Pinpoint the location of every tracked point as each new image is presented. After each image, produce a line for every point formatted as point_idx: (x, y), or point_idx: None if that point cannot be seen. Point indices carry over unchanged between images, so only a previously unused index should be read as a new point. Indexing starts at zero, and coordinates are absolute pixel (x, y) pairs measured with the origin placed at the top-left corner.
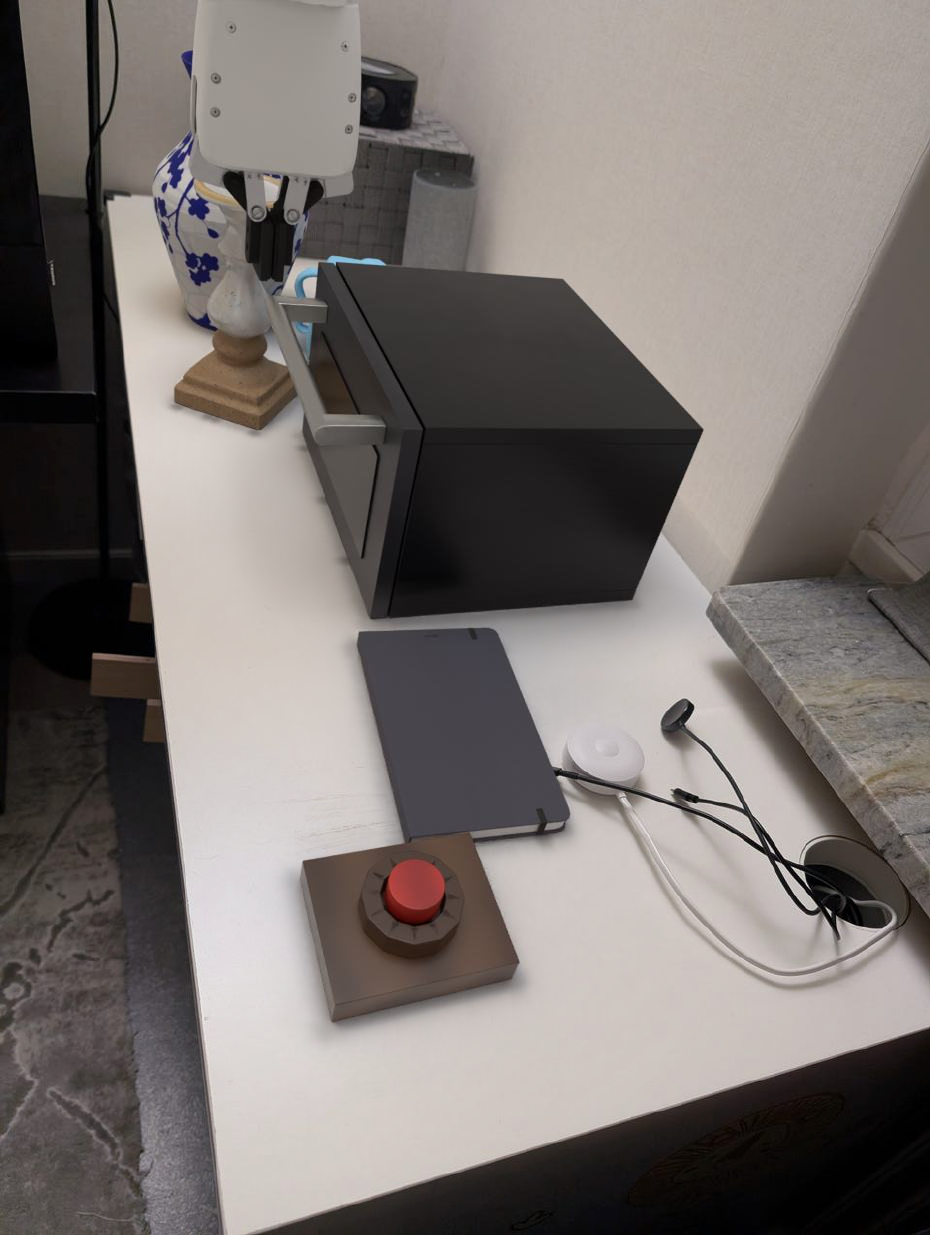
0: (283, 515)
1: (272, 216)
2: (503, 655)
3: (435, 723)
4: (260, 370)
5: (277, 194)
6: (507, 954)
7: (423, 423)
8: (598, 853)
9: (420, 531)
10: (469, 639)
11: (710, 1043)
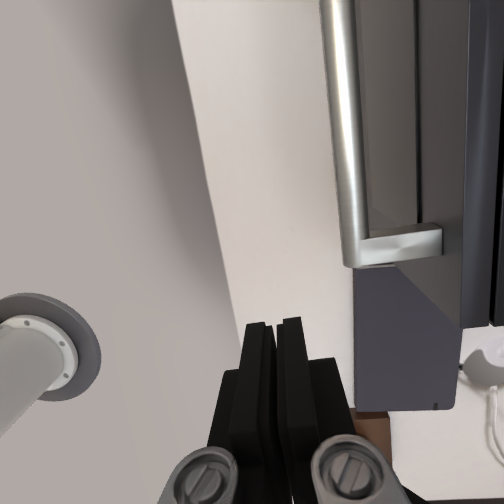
0: (310, 98)
1: (293, 474)
2: None
3: (391, 347)
4: None
5: (318, 500)
6: None
7: (494, 318)
8: (459, 412)
9: None
10: None
11: (466, 487)
